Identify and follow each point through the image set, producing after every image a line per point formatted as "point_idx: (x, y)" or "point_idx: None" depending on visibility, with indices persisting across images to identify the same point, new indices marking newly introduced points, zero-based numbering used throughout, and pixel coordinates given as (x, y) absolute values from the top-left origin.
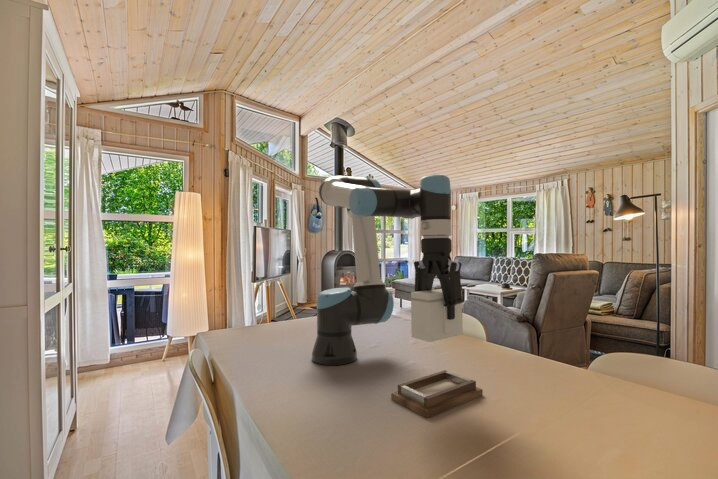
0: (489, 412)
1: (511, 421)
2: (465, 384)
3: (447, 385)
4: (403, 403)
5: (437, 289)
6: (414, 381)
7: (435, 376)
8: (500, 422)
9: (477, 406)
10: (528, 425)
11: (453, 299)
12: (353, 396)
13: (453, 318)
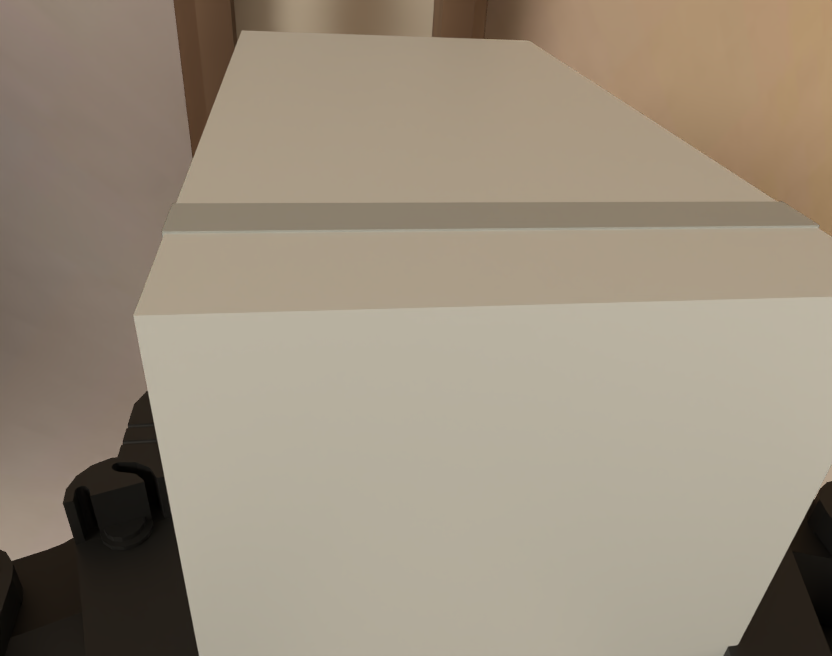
0: (610, 33)
1: (719, 33)
2: (467, 9)
3: (323, 11)
4: None
5: (208, 566)
6: None
7: (234, 39)
8: (682, 85)
9: (536, 20)
10: (790, 5)
11: (829, 642)
12: (86, 414)
13: None
